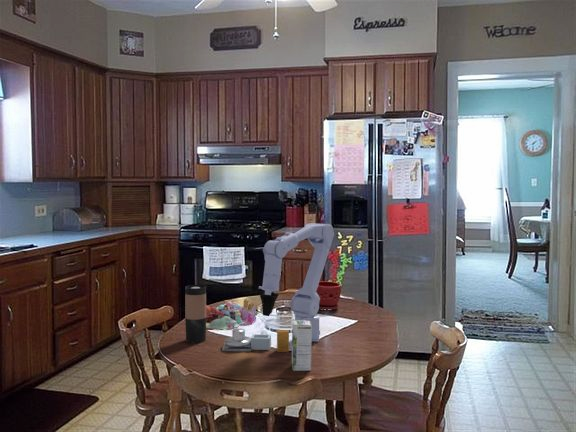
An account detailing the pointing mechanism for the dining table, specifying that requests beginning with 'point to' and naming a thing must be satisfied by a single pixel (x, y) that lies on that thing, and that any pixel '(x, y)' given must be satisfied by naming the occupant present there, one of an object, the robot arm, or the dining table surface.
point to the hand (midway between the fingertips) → (267, 314)
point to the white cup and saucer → (237, 342)
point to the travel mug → (195, 313)
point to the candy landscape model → (230, 315)
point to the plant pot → (328, 294)
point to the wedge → (282, 340)
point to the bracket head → (261, 341)
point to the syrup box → (301, 345)
